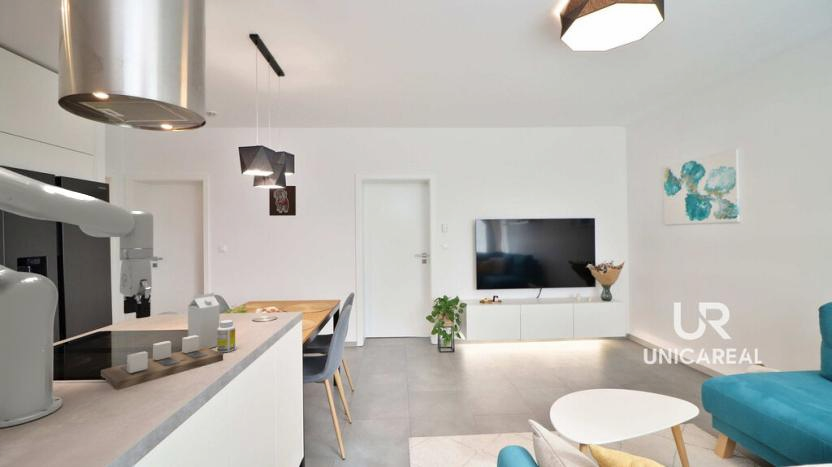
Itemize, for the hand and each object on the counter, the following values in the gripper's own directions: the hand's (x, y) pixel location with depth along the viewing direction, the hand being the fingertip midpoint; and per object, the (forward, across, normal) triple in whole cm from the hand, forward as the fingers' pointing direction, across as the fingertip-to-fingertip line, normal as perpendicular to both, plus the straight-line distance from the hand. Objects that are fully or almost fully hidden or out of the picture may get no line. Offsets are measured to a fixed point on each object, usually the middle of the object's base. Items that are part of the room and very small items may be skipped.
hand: (136, 315), depth 100 cm
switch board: (+18, -2, +8) cm, 19 cm away
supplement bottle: (+18, -4, +27) cm, 32 cm away
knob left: (+15, +2, 0) cm, 15 cm away
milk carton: (+18, -14, +24) cm, 33 cm away
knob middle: (+15, -4, +8) cm, 18 cm away
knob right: (+15, -4, +16) cm, 22 cm away
